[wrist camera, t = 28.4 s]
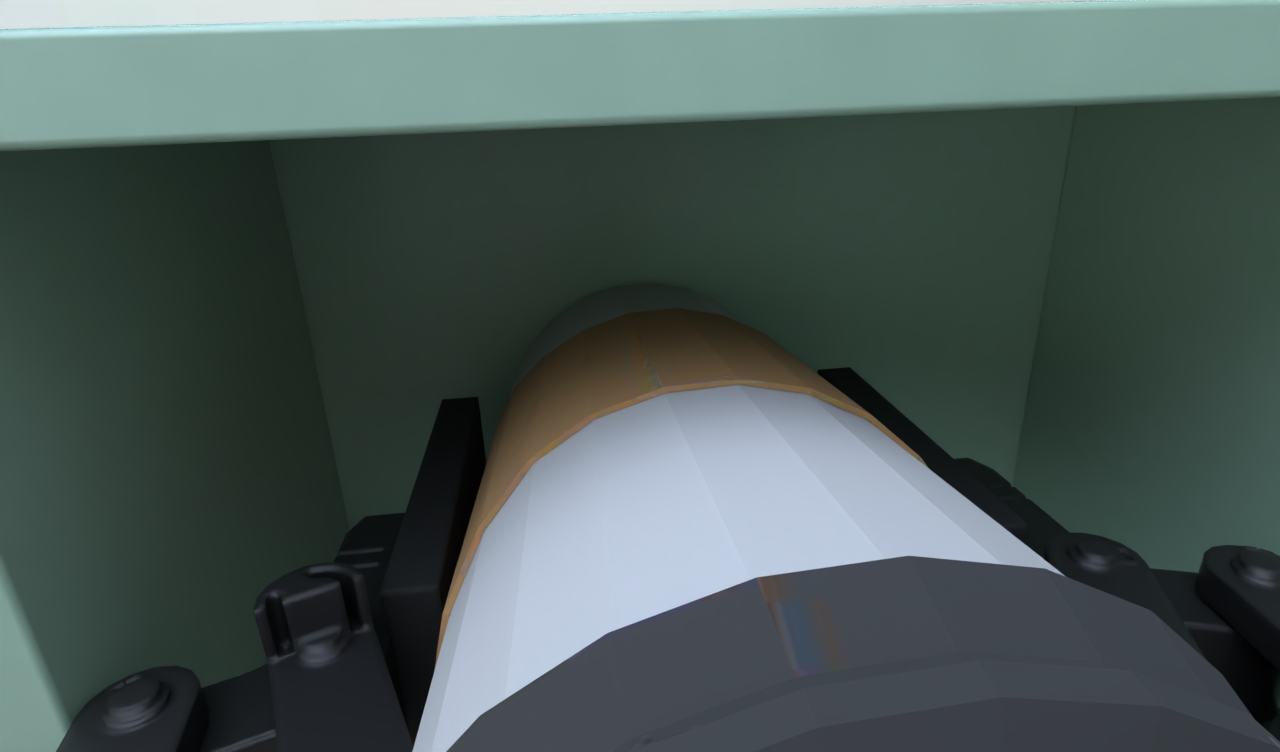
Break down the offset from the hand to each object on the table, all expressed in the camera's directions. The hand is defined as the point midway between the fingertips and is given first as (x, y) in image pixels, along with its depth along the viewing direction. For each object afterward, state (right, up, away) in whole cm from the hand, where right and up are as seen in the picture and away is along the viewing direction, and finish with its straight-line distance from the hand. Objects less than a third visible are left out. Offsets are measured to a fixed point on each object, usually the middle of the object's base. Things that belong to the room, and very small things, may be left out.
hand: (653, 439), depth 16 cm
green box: (+1, +1, +3) cm, 3 cm away
